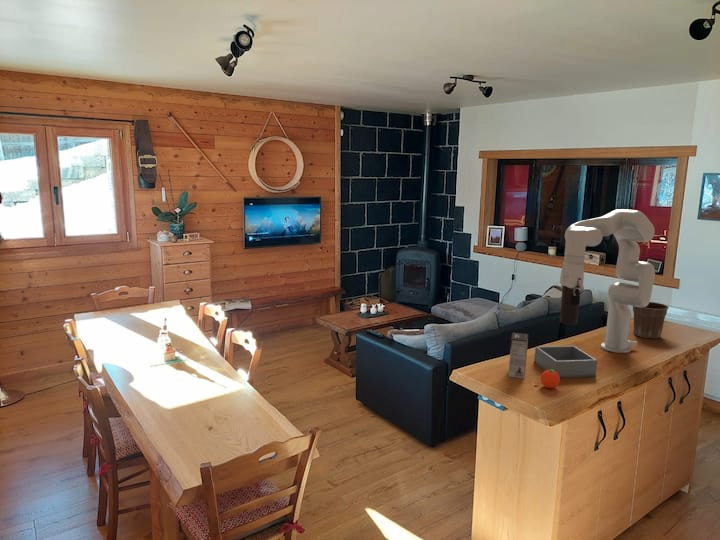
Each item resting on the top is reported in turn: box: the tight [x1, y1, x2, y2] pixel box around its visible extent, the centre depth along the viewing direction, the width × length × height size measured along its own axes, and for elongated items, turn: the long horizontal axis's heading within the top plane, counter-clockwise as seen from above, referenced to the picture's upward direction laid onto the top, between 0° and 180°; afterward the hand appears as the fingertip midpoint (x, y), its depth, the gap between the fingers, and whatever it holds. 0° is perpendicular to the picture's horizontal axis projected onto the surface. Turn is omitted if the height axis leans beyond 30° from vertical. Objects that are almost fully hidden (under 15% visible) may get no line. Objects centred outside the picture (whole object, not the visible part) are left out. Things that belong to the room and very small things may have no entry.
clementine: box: [540, 369, 561, 389], centre depth 195 cm, size 8×7×7 cm
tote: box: [533, 345, 598, 379], centre depth 214 cm, size 18×18×7 cm
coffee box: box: [508, 332, 529, 379], centre depth 207 cm, size 9×6×16 cm
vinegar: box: [559, 286, 580, 326], centre depth 209 cm, size 7×7×20 cm
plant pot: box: [632, 301, 670, 340], centre depth 260 cm, size 16×16×16 cm
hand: (570, 302), depth 209 cm, fingers closed on vinegar, 6 cm apart
